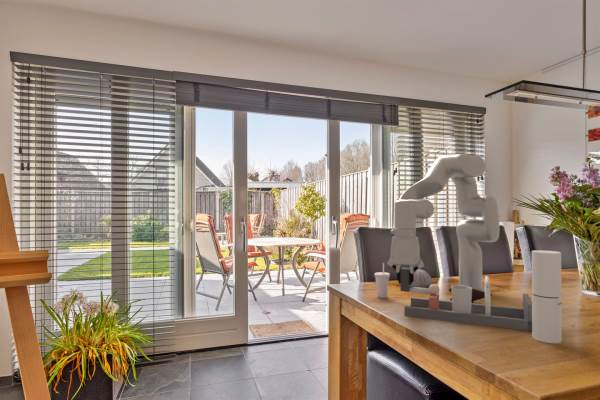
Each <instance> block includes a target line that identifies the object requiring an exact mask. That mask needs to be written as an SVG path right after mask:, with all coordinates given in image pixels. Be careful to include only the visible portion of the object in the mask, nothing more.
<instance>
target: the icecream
mask: <svg viewBox="0 0 600 400" xmlns="http://www.w3.org/2000/svg"><path fill="white" fill-rule="evenodd" d="M469 287H471V286H469ZM448 291H449V292H450V293H451V294H452V291H451V287H449V289H448ZM491 296H492V293H490V297H491ZM482 299H485V292H483V291H479V290H476V289H473V288H472V300H471V303H474V302H477V301H479V300H482ZM449 301H452V297H451V298H450V299H449Z"/></svg>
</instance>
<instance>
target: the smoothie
mask: <svg viewBox="0 0 600 400" xmlns="http://www.w3.org/2000/svg"><path fill="white" fill-rule="evenodd" d="M390 277H391V274H390V272H385V262H382V271H381V272H380V271H379V272H375V273H374V279H375V284H376V293H377V297H378V298H380V299H381V298H382V299H387V297H388V290H389V289H388V288H389V282H390Z"/></svg>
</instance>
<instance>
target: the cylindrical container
mask: <svg viewBox="0 0 600 400" xmlns="http://www.w3.org/2000/svg"><path fill="white" fill-rule="evenodd" d="M562 293H563V292H562V252H560V251H555V250H546V249H545V250H543V249H540V250H539V249H537V250H535V249H534V250H533V249H532V251H531V301H532V331H531V337H532V338H533V339H534V340H536V341H538V342H542V343H547V344H561V343H562V342H563V339H562V338H563V335H562V333H563V332H562V331H563V329H562V328H563V327H562V326H563V325H562V323H563V322H562V321H563V318H562V317H563V315H562V314H563V313H562V311H563V310H562V303H563V301H562V299H563V298H562V296H563V295H562Z"/></svg>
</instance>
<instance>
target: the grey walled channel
mask: <svg viewBox="0 0 600 400" xmlns="http://www.w3.org/2000/svg"><path fill="white" fill-rule="evenodd" d="M484 288H485V298H484V303H482V304H481V303H474V302H473V303H471V313H465V312H456V311H453V310H452V301H450V300H445V299H443V300H442V299H439V310H438V309H430V308H429V298H423V297H414V296H411V297H410V305H405V306H404V316H406V317H412V318H413V317H415V318H422V319H429V320H438V321H446V322H456V323H462V324H463V323H464V324H469V325H478V326H480V325H481V326H485V327H486V326H488V327H495V328H503V329H512V330H520V331H527V332H532V298H531V297H530V295H529V294H528V293H523V294H522V307H521V308H520V307H514V306H511V307H510V306H501V305H495V304H494V305H493V304H492V305H491V303H492V302H491V300H492V299H491V296H490V294H491V284H490V277H489V275H485V277H484Z"/></svg>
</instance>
